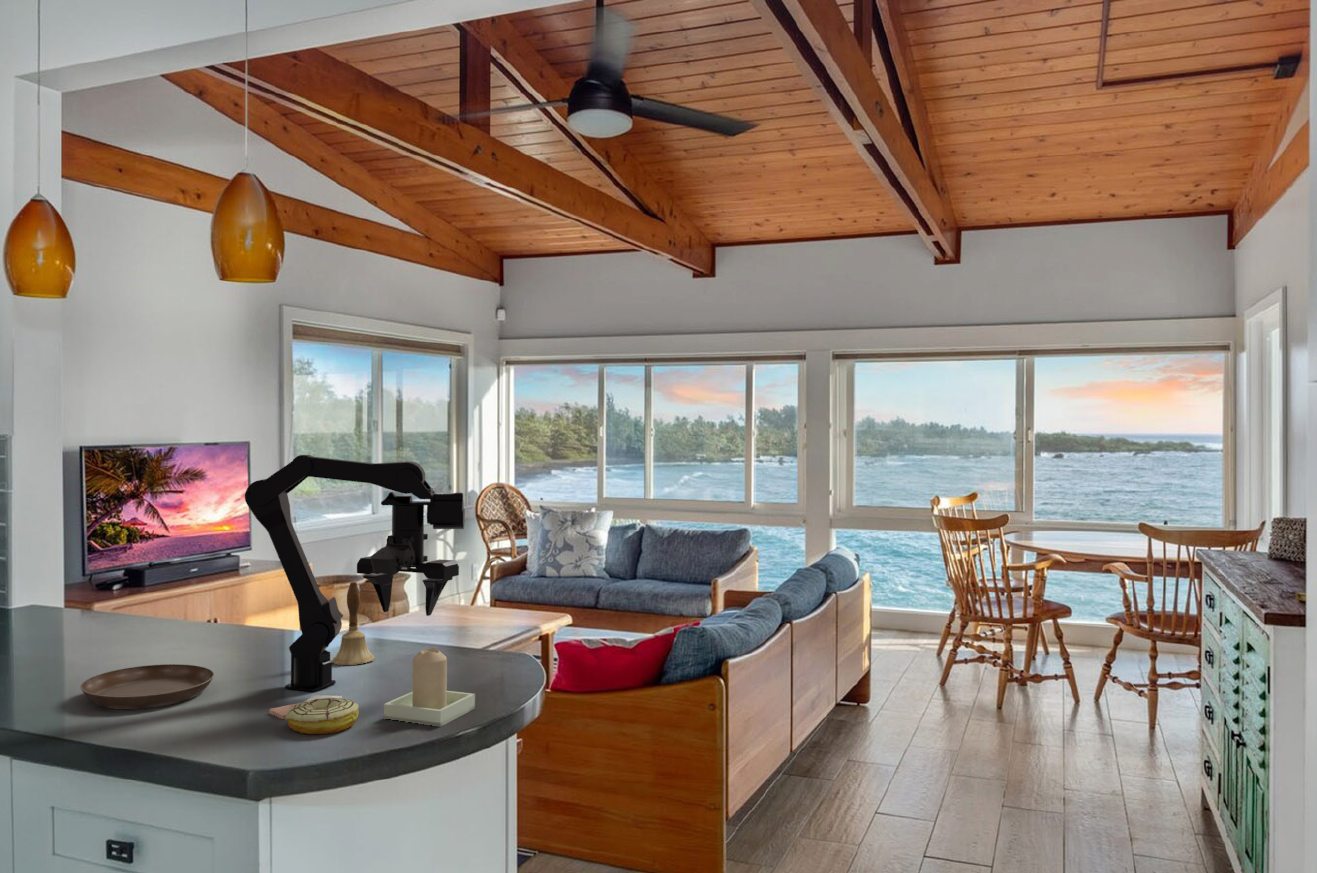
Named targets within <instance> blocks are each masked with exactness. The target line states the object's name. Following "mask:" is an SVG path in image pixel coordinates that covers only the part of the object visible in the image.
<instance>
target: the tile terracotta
mask: <svg viewBox="0 0 1317 873" xmlns="http://www.w3.org/2000/svg"><path fill="white" fill-rule="evenodd" d="M297 704H299V703H292V704H287V705H282V706H278V707H273V708H269V712H268V713H269V714H270V715H272V716H274V715H275V716H274V717H276V716H277V717H276V718H278V717H279V718H278V719H280V718H281V719H280V720H282V719H285V720H286V715H287V713H288V711H289V709H290V708H291V707H293V706H295V705H297Z"/></svg>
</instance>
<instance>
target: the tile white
mask: <svg viewBox="0 0 1317 873" xmlns="http://www.w3.org/2000/svg"><path fill="white" fill-rule="evenodd" d="M323 698H341V699H343V696H342V695H324V694H323V695H318V694H317V695H316V694H313V695H311V696H310V697H309V698H308V699H307V698H306V700H305V701H304V702H307V701H311V700H315V699H323Z"/></svg>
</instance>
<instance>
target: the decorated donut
mask: <svg viewBox="0 0 1317 873" xmlns="http://www.w3.org/2000/svg"><path fill="white" fill-rule="evenodd" d="M296 704H297V703H296ZM359 709H360V708H359V704H358V703H357V702H355V701H353V700H351V699H348V698H342V699H341V698H323V699H315V700H311V701H307V702H305V701H302V702H300V703H299V704H297V705H295V706H293V707H291V708H290V709H289V711H288V713H287V715H286V719H285V720H286V721H287V724H288V727H289V728H290V729H291V730H292V731H293V732H299V733H300V734H307V735H326V734H327V735H328V733H329V734H334V733H338V732H339V731H340V732H341V731H346V730H348V729H350V728H351V727H352V726H353V725H354V724H355V723H356V721H357V719H358V717H359V714H360V713H359ZM349 727H350V728H349ZM347 728H348V729H347Z"/></svg>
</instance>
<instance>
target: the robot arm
mask: <svg viewBox="0 0 1317 873" xmlns="http://www.w3.org/2000/svg"><path fill="white" fill-rule="evenodd" d="M309 477H310V478H317V479H318V478H320V479H326V480H327V479H328V480H329V479H330V480H338V481H346V482H347V481H348V482H353V483H354V482H355V483H363V484H370V485H371V484H372V485H375V486H378V487H381V488H384V489H387V490H390V492H389V493H388V495H387V496H386V497H385V498H384V499H383V500H381V502H380V505H381V506H391V507H392V508H391V518H392V519H391V534H389V535H387V538H386V544H385V546H383V547H381V548H380V549H378V550H377V551H376V552H374V553H373V554H372V555H370V556H364V557H360V558H359V560H357V563H356V574H360V575H362V578H363V579H366V580H368V582H370V583H371V584H372V586H373V587H374V590H375V592H376V594H377V597H378V600H379V602H380V605H381V609H382V611H383V613H388V612H389V611H390V605H391V600H392V589H393V581H394V580H393V578H394V575H396V574H398V573H401V572H404V573H418V574H423V575H424V576H425V579H422V583H423V585H424V587H425V615H426V617H429V616H431V615H432V614H433V611H434V609H435V607H436V605H437V602H438V600H439V598H440V595H441V593H442V592H443V590H444V588H445V587H446V585H447V583H448V582H449V581H451V580H453V578H454V577H456V576H459V575H460V574H459V573H460V566H459V565H458V564H459V563H457V561H456V560H453V559H435V560H431V561H428V555H425V554H424V552H425V551H424V549H425V548H424V547H425V546H424V545H425V544H424V541H426V540H428V537H429V535H428V533H425V530H424V529H425V526H424V525H425V524H424V523H425V506H426V523H427V524H428V525H431V526H432V529H433V530H464V529H465V517H466V516H465V514H466V512H465V510H466V509H465V508H464V507H465V506H464V504H465V502H464V493H463V492H454V493H436V492H435V491H434V488H432V487H431V486H430V484H429V483H428V482H427V480H426V473H425V469H424V467H423V466H421V465H420V464H419V463H418V462H415V461H411V460H410V461H392V462H377V463H375V462H374V463H373V462H366V461H365V462H364V461H358V460H357V461H355V460H346V459H337V458H329V457H321V456H314V455H311V454H301V455H297V456H296V457H294V458H293V459H292V461H290V462H289V463H287V465H285V466H283V467H282V468H280V469H279V470H277V471H276V472H274V473H272V474H271V475H270V476H269V477H267V478H263V479H259V480H255V481H253V482H251V483H250V484H249V485H248V487H247V489H246V490H245V493H244V500H245V501H244V502H245V504H246V505H247V507H248V508H249V510H250V511H251V513H252V514H253V516H254V517H255V519H256V520H257V521H258V522H259V523H260V525H261V526H263V528H264V529H265V530H266V531H267V533H268V535H269V537H270V540H271V543H272V544H273V545H272V546H274V550H275V551H276V554H277V557H278V558H279V561H280V564H281V566H282V568H283V572H284V573H285V576H286V578H287V581H288V583H289V585H290V587H291V589H292V592H293V595H294V597H295V599H296V602H297V609H298V622H299V625H300V630H301V634H300V636H299V637H297V638H296V639H295V640H294V642H292V644H290V645H289V647H288V650H289V653H290V683H288V684H285V685H284V689H288V690H297V691H305V692H316V691H319V690H321V689H324V688H327V687H329V686H330V687H331V686H332V685H334V684H336V682H337V681H336V680H334V679H333V663H332V660H331V651H328V650H327V648H329V646H330V644H331V643H332V642H333V641H334V640H335V638H336V637H338V636H339V634H340V632H341V629H342V625H343V623H342V618H343V617H344V614H342V613H341V611H340V610H339V608H338V607H339V606H338V603H337V599H336V597H335V596H333V597H331V598H329V599H327V597H326V596H325V595H324V594H323V593H322V592H321V590H320V588H319V585H318V583H317V580H316V578H315V575H314V574H313V571H312V569H311V566H310V563H309V561H308V558H307V556H306V553H305V552H304V549H303V547H302V545H301V542H300V540H299V538H298V535H297V532H296V530H295V528H294V526H293V523H292V518H291V514H292V513H291V505H290V500H289V495H288V494H289V493H290V492H291V491H293V490H294V489H295V488H296V487H298V486H299V485H300V484H302V482H304V481H305V480H307V478H309ZM393 491H395V492H397V493H401V494H405V495H396V493H394V492H393ZM406 494H411V495H406ZM413 496H414V497H416V498H418V499H419V501H418V500H413ZM421 500H424V501H421ZM427 500H428V501H427Z"/></svg>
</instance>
